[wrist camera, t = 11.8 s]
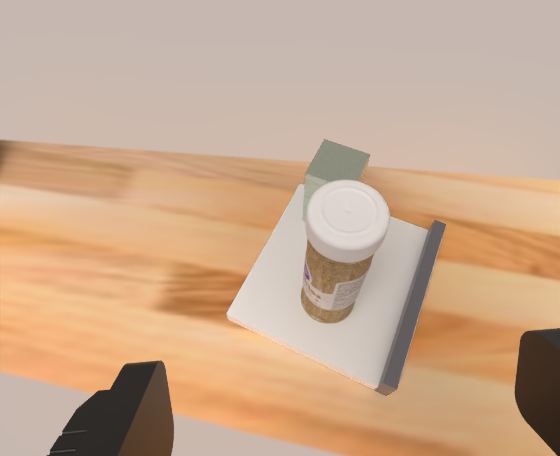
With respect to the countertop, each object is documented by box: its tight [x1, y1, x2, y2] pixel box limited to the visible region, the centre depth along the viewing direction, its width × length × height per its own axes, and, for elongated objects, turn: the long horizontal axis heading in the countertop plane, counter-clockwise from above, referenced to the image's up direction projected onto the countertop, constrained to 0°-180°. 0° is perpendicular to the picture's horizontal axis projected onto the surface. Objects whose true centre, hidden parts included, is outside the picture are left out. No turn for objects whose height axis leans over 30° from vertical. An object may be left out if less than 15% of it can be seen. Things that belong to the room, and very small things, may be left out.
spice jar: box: [301, 180, 390, 324], centre depth 26 cm, size 5×5×13 cm
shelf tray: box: [226, 183, 446, 396], centre depth 33 cm, size 14×15×3 cm
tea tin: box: [302, 139, 370, 222], centre depth 34 cm, size 4×4×7 cm
